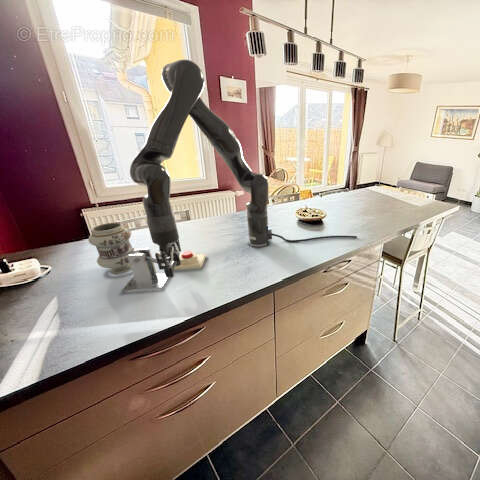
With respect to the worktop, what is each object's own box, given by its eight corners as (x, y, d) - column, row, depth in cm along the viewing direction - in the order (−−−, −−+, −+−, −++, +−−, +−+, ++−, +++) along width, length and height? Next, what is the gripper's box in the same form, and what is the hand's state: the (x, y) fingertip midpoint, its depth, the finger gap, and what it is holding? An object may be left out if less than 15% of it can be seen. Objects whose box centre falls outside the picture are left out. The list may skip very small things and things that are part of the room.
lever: (176, 265, 87) (178, 259, 86) (171, 273, 82) (173, 267, 81) (138, 254, 82) (139, 248, 82) (130, 262, 78) (132, 255, 77)
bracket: (172, 275, 90) (163, 244, 85) (162, 290, 82) (153, 257, 77) (135, 278, 88) (124, 246, 82) (122, 293, 80) (109, 259, 74)
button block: (206, 258, 102) (204, 250, 101) (201, 269, 94) (199, 260, 93) (178, 260, 100) (176, 251, 99) (170, 271, 92) (168, 262, 91)
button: (193, 254, 98) (192, 250, 97) (191, 258, 95) (190, 254, 94) (184, 254, 97) (183, 251, 96) (181, 259, 94) (180, 255, 93)
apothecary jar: (119, 261, 98) (104, 219, 90) (149, 262, 97) (136, 221, 90) (93, 278, 87) (73, 232, 79) (126, 280, 86) (110, 233, 79)
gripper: (167, 235, 72) (179, 281, 79) (182, 219, 85) (191, 260, 92) (139, 236, 71) (153, 283, 78) (158, 219, 83) (169, 261, 90)
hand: (174, 270), depth 85 cm, fingers open, 7 cm apart
